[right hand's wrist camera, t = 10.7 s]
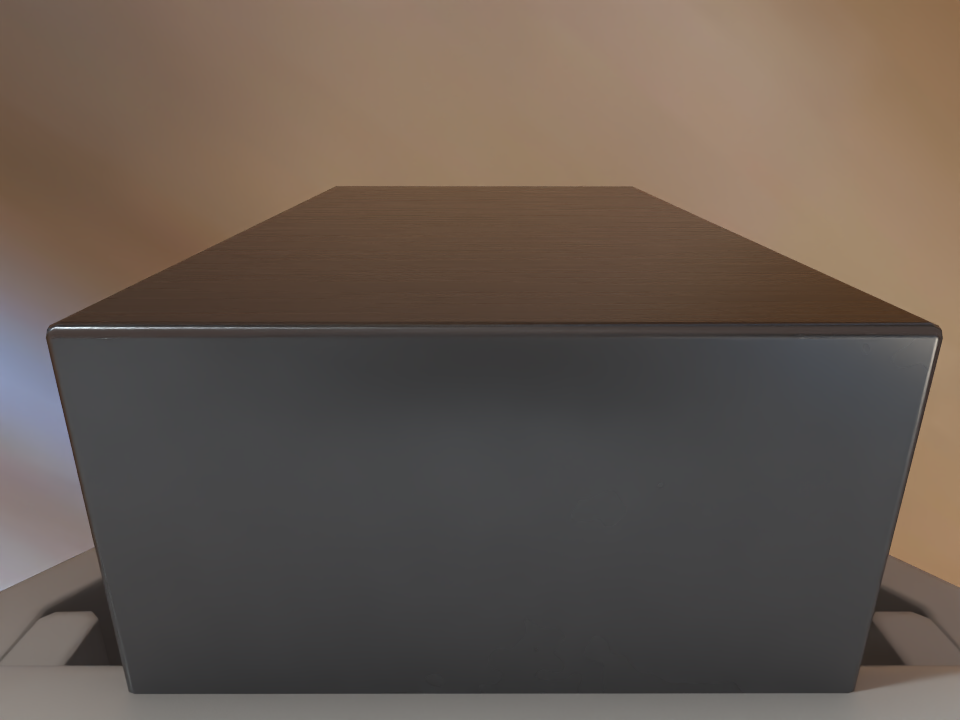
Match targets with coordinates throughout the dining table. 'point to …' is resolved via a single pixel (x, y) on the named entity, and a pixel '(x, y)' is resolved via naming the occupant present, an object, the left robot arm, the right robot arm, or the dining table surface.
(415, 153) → the dining table surface
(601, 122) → the dining table surface
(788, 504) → the bar
